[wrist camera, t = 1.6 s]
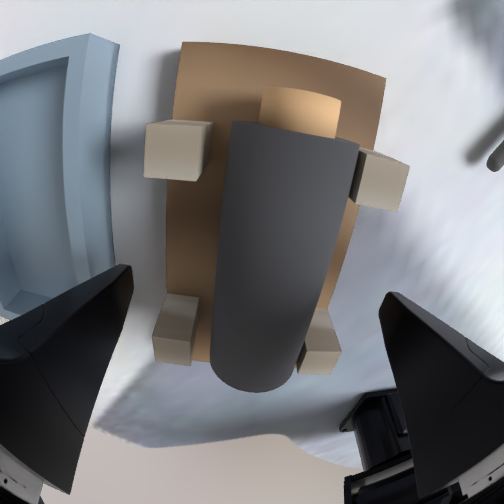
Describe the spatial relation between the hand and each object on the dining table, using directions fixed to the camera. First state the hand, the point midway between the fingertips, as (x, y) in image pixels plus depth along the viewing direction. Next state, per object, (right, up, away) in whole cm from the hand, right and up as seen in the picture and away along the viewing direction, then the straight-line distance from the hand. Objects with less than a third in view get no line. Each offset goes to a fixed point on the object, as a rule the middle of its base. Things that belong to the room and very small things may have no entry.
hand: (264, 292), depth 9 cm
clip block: (0, +2, +4) cm, 5 cm away
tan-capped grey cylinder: (0, +2, +3) cm, 3 cm away
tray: (-11, +4, +3) cm, 13 cm away
